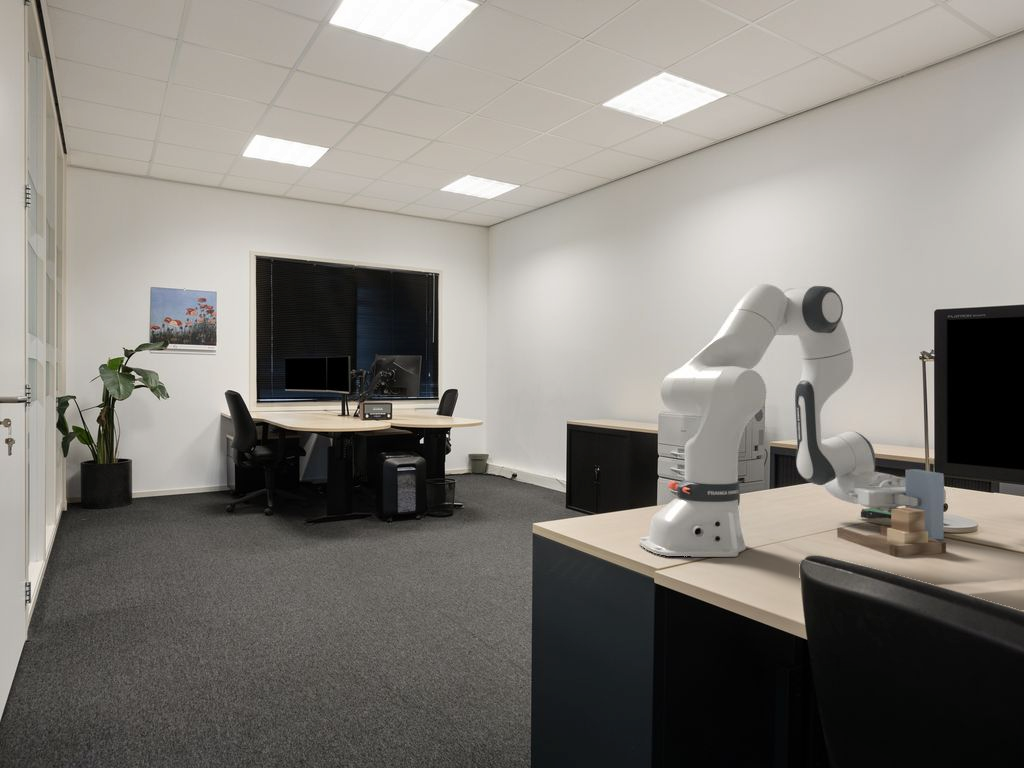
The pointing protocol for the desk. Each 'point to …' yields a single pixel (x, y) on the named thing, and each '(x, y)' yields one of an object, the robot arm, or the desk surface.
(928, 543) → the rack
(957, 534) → the desk surface
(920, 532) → the block
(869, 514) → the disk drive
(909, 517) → the offcut top
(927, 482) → the blue rectangular block
